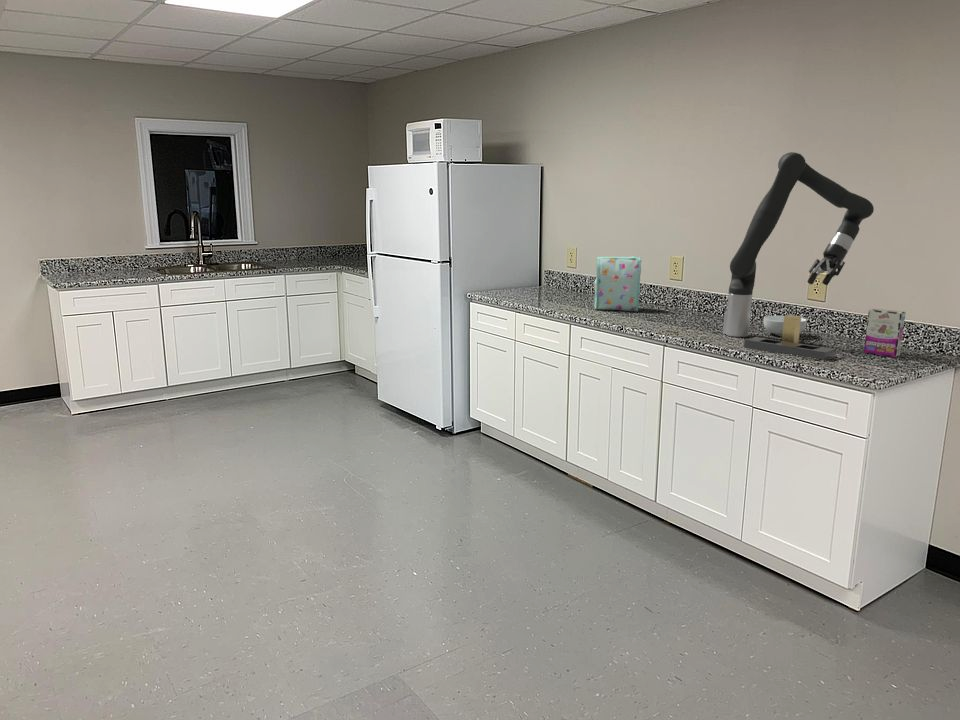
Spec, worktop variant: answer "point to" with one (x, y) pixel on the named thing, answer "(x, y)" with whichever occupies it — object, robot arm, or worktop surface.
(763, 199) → the robot arm
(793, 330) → the brass peg
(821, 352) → the grey peg board
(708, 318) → the worktop surface
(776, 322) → the cereal bowl
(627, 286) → the lunch bag
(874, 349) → the candy bar box
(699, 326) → the worktop surface
